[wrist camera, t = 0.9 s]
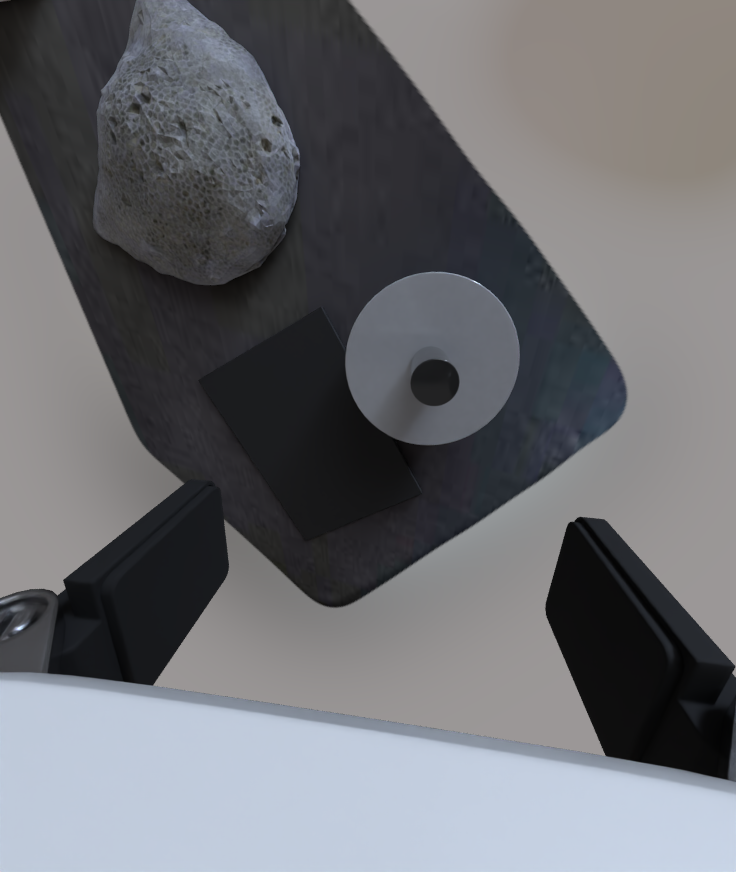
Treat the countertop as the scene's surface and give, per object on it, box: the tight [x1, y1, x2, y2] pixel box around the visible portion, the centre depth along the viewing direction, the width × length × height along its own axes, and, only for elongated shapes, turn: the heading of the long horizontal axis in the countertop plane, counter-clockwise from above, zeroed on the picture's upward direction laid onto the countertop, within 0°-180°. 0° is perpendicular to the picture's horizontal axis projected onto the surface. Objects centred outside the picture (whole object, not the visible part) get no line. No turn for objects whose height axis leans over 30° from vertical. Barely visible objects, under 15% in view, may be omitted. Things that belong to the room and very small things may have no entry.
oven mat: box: [199, 307, 422, 540], centre depth 36 cm, size 20×14×1 cm
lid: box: [345, 272, 520, 445], centre depth 22 cm, size 12×12×7 cm
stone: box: [93, 0, 300, 285], centre depth 27 cm, size 18×8×15 cm
